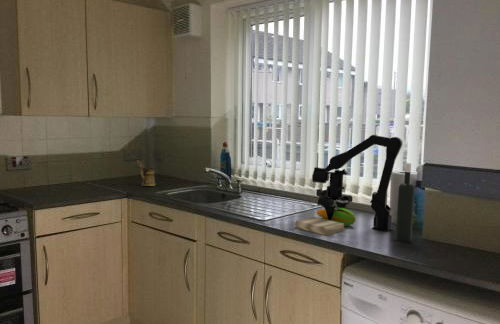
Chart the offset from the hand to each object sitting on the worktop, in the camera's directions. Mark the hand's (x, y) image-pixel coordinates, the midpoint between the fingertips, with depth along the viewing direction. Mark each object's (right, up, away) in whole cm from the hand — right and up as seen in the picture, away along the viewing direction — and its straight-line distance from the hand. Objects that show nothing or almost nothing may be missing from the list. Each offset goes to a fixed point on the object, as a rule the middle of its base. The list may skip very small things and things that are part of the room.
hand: (334, 219), depth 194 cm
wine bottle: (+22, -5, -24) cm, 33 cm away
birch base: (-8, -3, -11) cm, 14 cm away
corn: (0, -2, 0) cm, 2 cm away
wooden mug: (-105, +9, +90) cm, 139 cm away
